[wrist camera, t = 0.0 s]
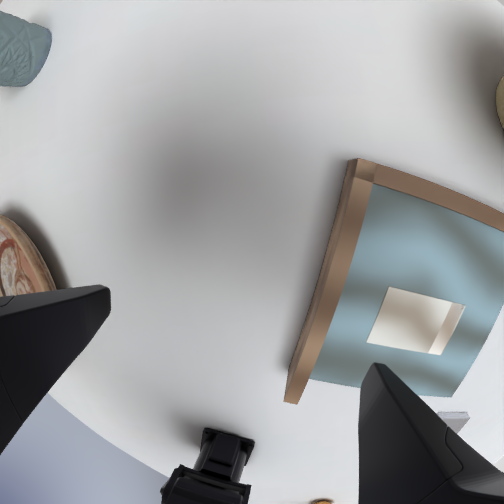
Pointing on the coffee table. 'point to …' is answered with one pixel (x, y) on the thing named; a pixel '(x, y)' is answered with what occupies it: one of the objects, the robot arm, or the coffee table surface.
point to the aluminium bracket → (454, 419)
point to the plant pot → (500, 101)
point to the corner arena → (402, 285)
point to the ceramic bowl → (21, 262)
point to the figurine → (323, 502)
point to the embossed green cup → (21, 50)
